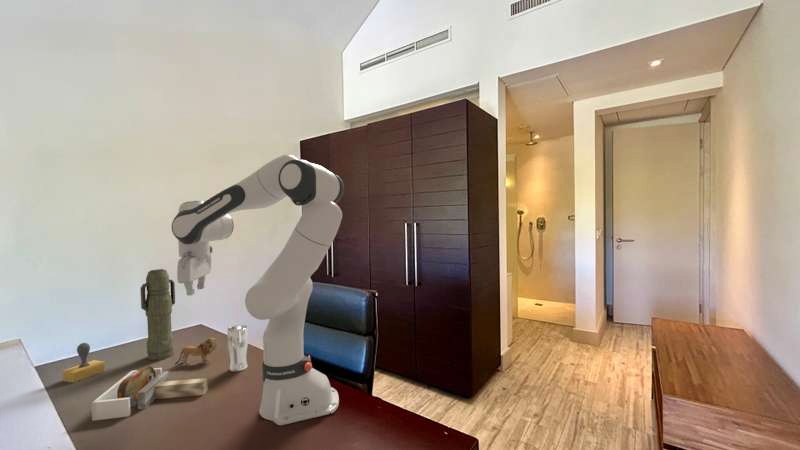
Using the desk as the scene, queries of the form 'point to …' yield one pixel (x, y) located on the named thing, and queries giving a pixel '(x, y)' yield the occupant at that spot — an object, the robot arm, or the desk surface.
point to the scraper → (169, 389)
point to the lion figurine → (198, 351)
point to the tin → (135, 384)
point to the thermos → (158, 313)
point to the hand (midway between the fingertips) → (195, 291)
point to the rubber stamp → (83, 366)
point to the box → (113, 402)
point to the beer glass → (237, 347)
